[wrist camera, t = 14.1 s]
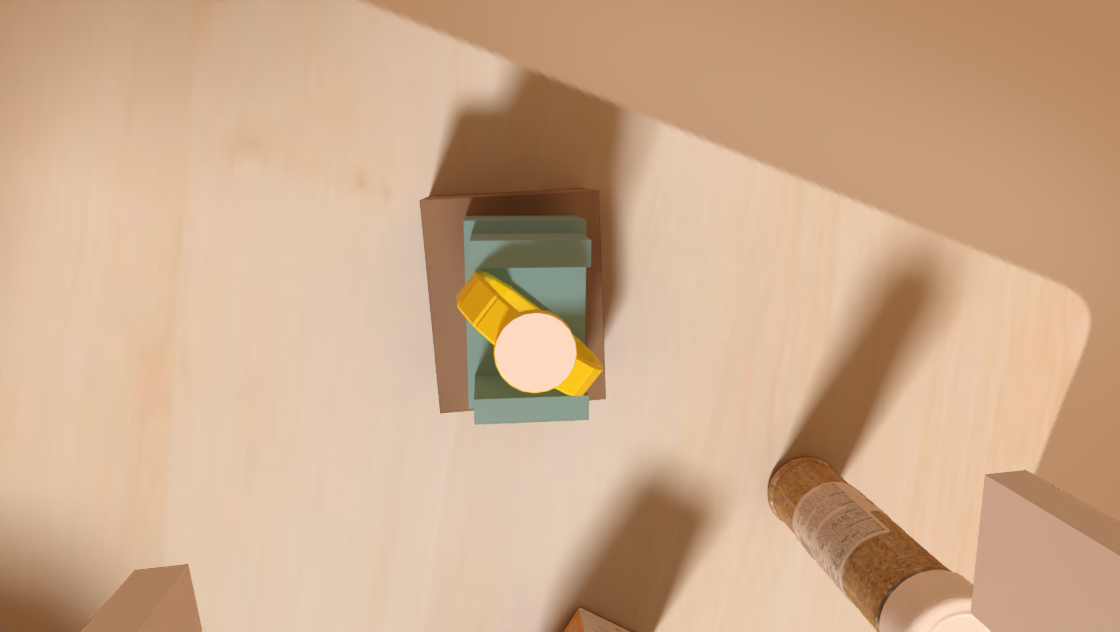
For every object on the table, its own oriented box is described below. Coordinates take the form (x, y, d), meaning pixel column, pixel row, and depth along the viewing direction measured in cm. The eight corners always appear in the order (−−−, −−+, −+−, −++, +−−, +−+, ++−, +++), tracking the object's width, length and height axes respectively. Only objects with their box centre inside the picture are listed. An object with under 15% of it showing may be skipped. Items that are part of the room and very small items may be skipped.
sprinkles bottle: (846, 498, 39) (1024, 659, 26) (781, 534, 40) (928, 712, 26) (818, 439, 38) (990, 577, 25) (752, 476, 38) (890, 633, 25)
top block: (470, 386, 30) (467, 437, 24) (465, 215, 28) (460, 226, 23) (574, 382, 31) (595, 431, 25) (576, 215, 29) (599, 226, 23)
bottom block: (446, 380, 35) (440, 413, 30) (429, 196, 33) (419, 200, 28) (589, 368, 36) (605, 398, 31) (582, 188, 34) (598, 190, 29)
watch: (450, 302, 27) (431, 329, 21) (490, 249, 26) (483, 261, 20) (563, 386, 27) (576, 434, 22) (603, 335, 27) (628, 371, 21)
